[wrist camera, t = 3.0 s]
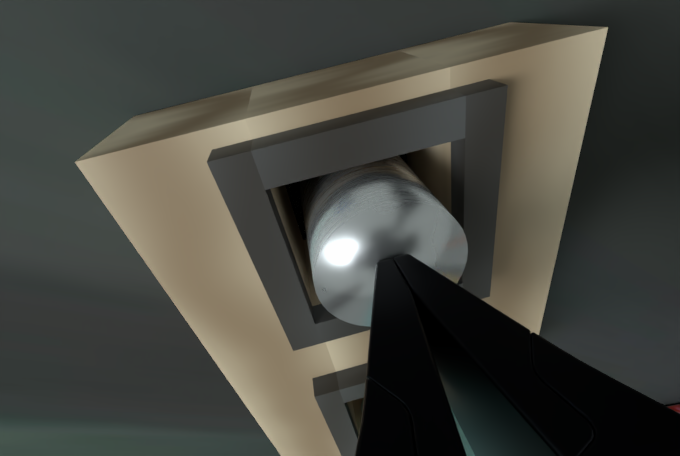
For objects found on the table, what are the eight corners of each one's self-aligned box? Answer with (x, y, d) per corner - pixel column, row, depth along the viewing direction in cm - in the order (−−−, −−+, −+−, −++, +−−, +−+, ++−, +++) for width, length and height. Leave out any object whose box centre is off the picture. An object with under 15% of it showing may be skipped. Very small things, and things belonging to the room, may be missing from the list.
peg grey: (400, 122, 11) (469, 182, 7) (409, 218, 14) (466, 304, 10) (285, 151, 11) (294, 228, 7) (314, 244, 13) (332, 341, 10)
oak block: (510, 21, 11) (638, 28, 7) (484, 343, 22) (532, 418, 18) (133, 115, 11) (56, 176, 7) (288, 398, 21) (292, 488, 17)
